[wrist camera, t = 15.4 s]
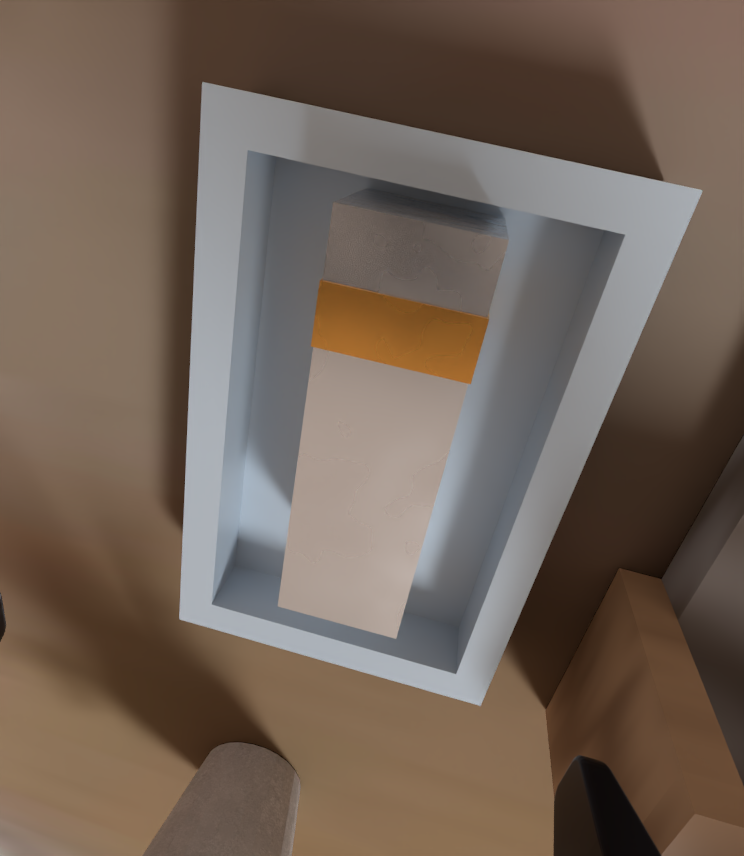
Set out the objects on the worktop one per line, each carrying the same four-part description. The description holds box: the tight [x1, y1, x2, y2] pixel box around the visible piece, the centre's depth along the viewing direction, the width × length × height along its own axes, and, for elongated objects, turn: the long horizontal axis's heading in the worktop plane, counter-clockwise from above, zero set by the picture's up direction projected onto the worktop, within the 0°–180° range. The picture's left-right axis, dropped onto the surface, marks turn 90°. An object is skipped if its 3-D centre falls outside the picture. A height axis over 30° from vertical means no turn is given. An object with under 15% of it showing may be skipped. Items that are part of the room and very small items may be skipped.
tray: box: [179, 82, 703, 706], centre depth 18 cm, size 17×11×3 cm, turn 169°
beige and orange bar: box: [278, 188, 509, 639], centre depth 17 cm, size 12×4×4 cm, turn 170°
